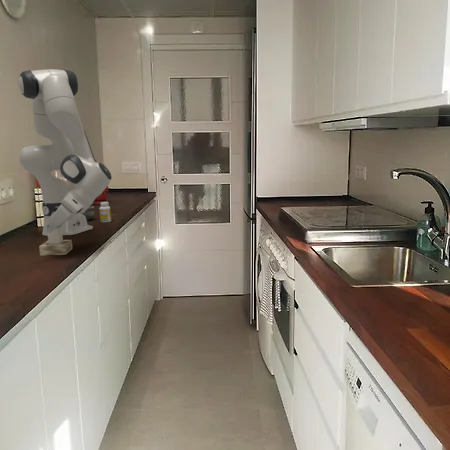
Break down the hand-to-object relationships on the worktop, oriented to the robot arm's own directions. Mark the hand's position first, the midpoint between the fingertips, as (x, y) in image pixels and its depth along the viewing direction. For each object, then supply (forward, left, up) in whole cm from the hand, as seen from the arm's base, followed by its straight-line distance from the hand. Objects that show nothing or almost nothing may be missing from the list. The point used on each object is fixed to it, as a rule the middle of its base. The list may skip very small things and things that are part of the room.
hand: (52, 228), depth 166 cm
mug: (-52, -44, -9) cm, 69 cm away
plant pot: (-100, -84, -9) cm, 131 cm away
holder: (0, +1, -9) cm, 9 cm away
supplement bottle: (-54, -30, -9) cm, 63 cm away
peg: (0, 0, -8) cm, 8 cm away
